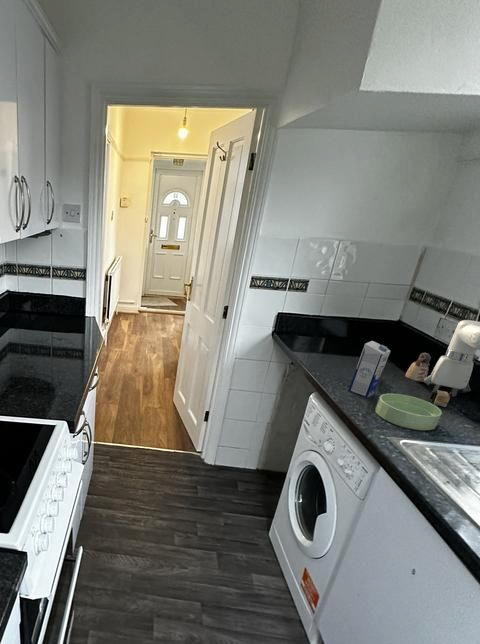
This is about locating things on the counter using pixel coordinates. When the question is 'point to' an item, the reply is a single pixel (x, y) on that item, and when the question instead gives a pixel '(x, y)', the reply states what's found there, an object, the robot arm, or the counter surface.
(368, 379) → the milk carton
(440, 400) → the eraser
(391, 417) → the bowl
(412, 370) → the figurine
